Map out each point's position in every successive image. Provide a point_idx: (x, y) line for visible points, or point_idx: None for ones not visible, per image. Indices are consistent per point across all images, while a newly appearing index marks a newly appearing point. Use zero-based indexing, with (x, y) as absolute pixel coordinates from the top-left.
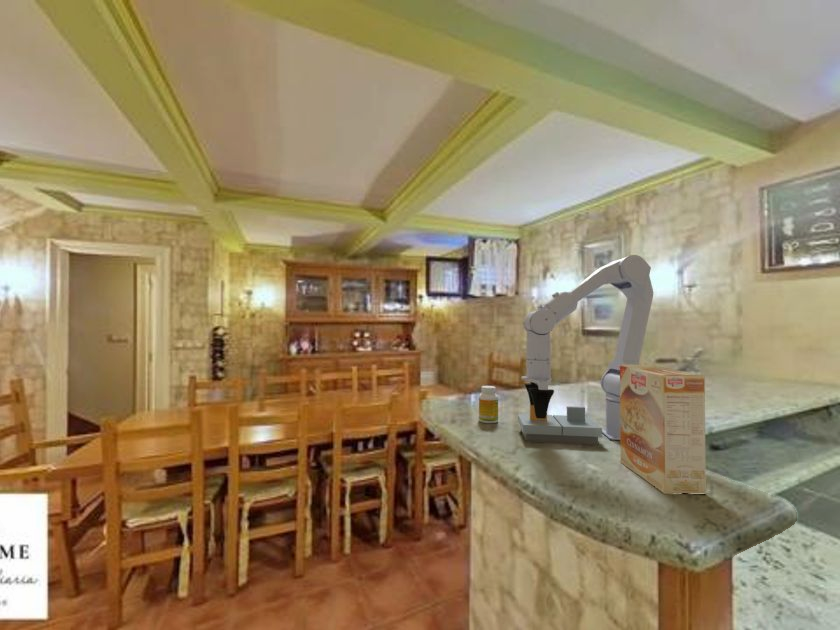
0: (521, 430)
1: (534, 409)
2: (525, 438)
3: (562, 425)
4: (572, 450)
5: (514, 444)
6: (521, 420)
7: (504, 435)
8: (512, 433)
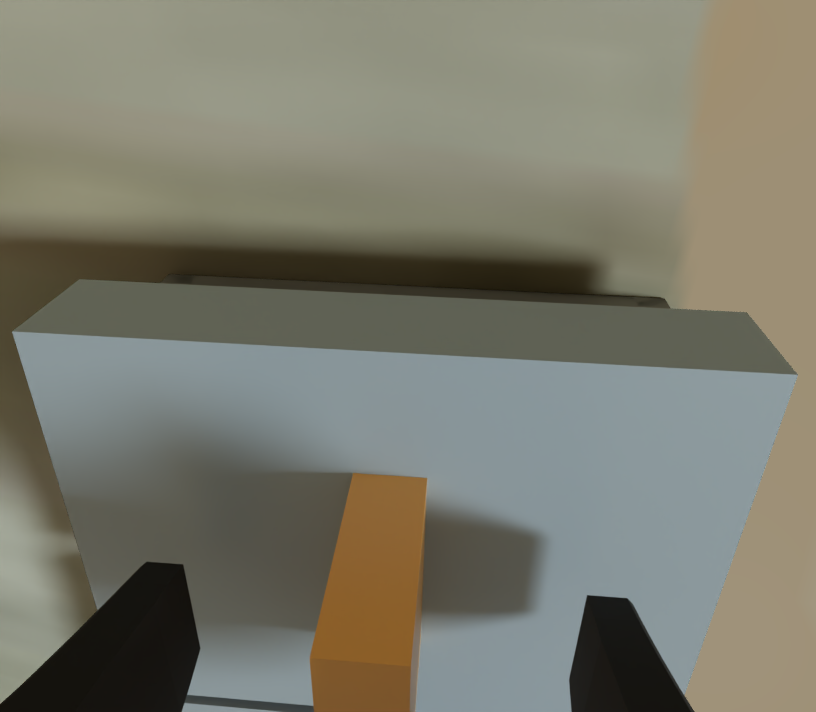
0: (597, 299)
1: (102, 654)
2: (203, 284)
3: None
4: (48, 573)
5: (8, 122)
6: (292, 351)
7: (377, 31)
8: (494, 164)
